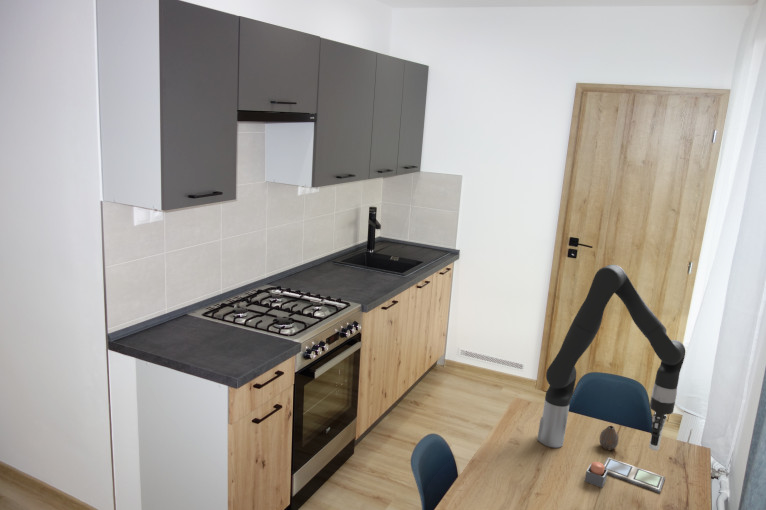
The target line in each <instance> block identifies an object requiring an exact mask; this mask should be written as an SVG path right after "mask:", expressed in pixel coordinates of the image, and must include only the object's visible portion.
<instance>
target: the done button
mask: <svg viewBox="0 0 766 510" xmlns="http://www.w3.org/2000/svg"><path fill="white" fill-rule="evenodd" d="M590 464H591V470H590V472H592V473H595V474H597V475H600V476H603V475H604V469H605V466H604V464H603V463H601V462H599V461H592V463H590Z"/></svg>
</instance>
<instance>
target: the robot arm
mask: <svg viewBox="0 0 766 510" xmlns="http://www.w3.org/2000/svg"><path fill="white" fill-rule="evenodd" d="M614 294H615V295H616V296H617V297H618V298H619V299H620V301H622V303H623V304H624V305H625V307H626V309H627V311H628V313H629V315H630V317H631V320H632V321H633V323H634V324H635V326H636V327H637V328H638V330H639V331H640V332H641V333H642V335H644V337H645V338H646V339H647V340H648V342H649V344H650V346H651V347H652V350H653V351H654V352H655V354H656V356H657V358H658V359H659V360H660V361H661V362H660V365H659V367H658V369H657V371H656V374H655V380H654V385H653V386H652V391H651V392H652V393H651V397H650V400H649V401H650V403H649V408H650V409H651V410H652V411H654V413H653V414H652V415H653V416H652V424H651V432H650V433H651V434H650V436H651V435H652V438H651V437H650V439H651V444H652V445H655V446H657V445H658V440H659V436H660V431H662V429H663V430H664V427H663V425H664V426H665V423H666V420H667V417H668V416H667V415H671V414H673V413H674V409H675V405H676V404H675V403H676V399H677V396H678V395H677V394H678V393H677V391H678V385H679V381H680V380H679V379H680V372H681V369H682V368H683V364H684V362H685V357H686V348H685V345H684V344H683V343H682V342H681V341H679V340H677V339H671V338H670V337H669V335H668V334H667V328H666V327H665V325H664V324H663V323H662V322H661V321H660V319H659V318H658V317H657V316H656V315H655V313H654V312H653V311H652V310H651V308H650V307H649V306H648V305H647V304H646V302H645V301H644V299H643V298H642V297H641V295H640V294H639V292H638V291H637V290H636V288H635V286H634V285H633V283H632V281H631V280H630V278H629V276H628V275H627V273H626V272H625V270H624V269H623V268H622V267H621V266H620V265H617V264H608V265H606V266H604V267H602V268H599V269H598V270H597V272H596V273H595V274H594V277H593V279H592V282H591V285H590V287H589V291H588V293H587V295H586V298H585V299H584V302H583V303H582V304H581V306H580V308H579V309H578V311H577V313H576V315H575V317H574V319H573V320H572V323H571V324H570V326H569V329H568V331H567V333H566V335H565V337H564V339H563V341H562V344H561V347H560V349H559V351H558V353H557V354H556V356H555V357H554V359H553V361H552V362H551V363H550V365H549V366H548V368H547V369H546V373H545V377H546V381H547V383H548V385H549V386H548V389H547V391H546V392H545V397H544V403H543V410H542V416H541V417H540V420H539V427H538V432H537V433H538V435H537V439H536V440H537V441H538V442H539V443H541V444H542V445H544V446H546V447H549V448H554V449H557V448H561V447H563V446H564V442H565V435H566V430H567V428H566V427H567V423H568V416H569V410H570V404H571V399H572V397H573V394H574V391H575V385H576V380H577V369H576V364H577V362H578V361H579V359H580V358H581V357H582V355H583V354H584V353H585V352H586V351H587V349H588V348H589V346H590V345H591V344H592V342H593V341H594V339H595V338H596V336H597V333H598V332H599V330H600V327H601V325H602V321H603V316H604V311H605V310H606V309H605V308H606V307H607V305H608V303H609V301H610V300H611V299H612V297H613V296H614ZM654 431H655V432H654ZM662 432H663V431H662Z"/></svg>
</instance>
